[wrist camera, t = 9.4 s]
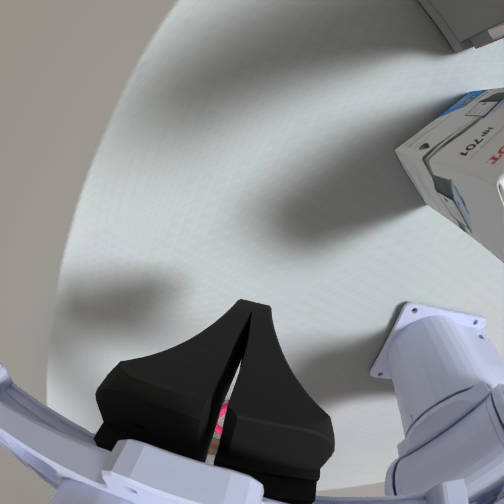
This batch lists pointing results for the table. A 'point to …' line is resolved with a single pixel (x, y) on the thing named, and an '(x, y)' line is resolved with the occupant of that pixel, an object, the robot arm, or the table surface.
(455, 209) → the ink box
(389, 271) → the table surface
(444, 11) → the tall grey pillar
